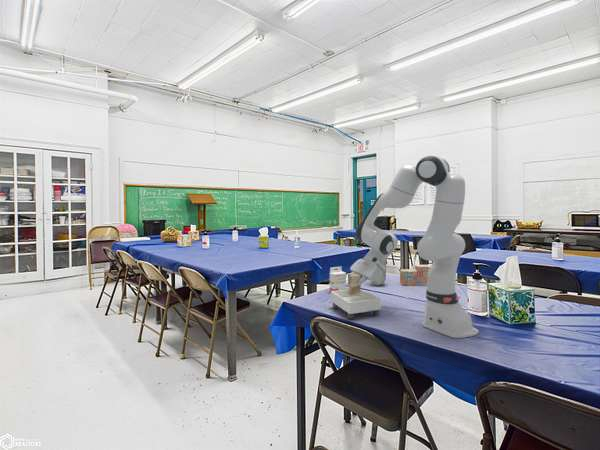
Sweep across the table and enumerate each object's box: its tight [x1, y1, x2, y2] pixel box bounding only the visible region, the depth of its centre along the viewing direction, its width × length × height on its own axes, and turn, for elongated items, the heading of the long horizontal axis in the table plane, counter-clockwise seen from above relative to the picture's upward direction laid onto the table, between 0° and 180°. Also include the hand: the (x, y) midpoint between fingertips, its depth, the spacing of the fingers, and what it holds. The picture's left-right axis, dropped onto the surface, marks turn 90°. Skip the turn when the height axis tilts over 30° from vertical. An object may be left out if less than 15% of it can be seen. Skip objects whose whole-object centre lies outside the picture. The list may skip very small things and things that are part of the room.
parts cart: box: [330, 288, 382, 320], centre depth 158 cm, size 20×16×8 cm
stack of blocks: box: [399, 264, 432, 287], centre depth 205 cm, size 21×6×12 cm, turn 85°
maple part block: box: [347, 272, 362, 297], centre depth 158 cm, size 4×4×10 cm
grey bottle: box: [370, 247, 387, 286], centre depth 205 cm, size 10×10×28 cm
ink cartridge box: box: [329, 265, 347, 293], centre depth 191 cm, size 9×5×15 cm, turn 115°
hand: (354, 282), depth 158 cm, fingers closed on maple part block, 4 cm apart
